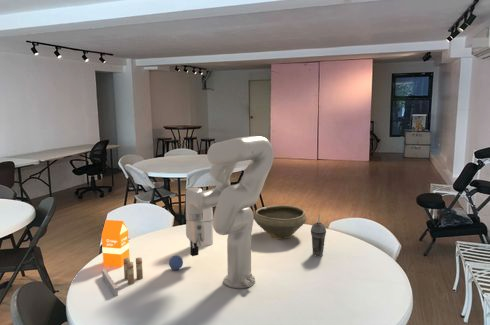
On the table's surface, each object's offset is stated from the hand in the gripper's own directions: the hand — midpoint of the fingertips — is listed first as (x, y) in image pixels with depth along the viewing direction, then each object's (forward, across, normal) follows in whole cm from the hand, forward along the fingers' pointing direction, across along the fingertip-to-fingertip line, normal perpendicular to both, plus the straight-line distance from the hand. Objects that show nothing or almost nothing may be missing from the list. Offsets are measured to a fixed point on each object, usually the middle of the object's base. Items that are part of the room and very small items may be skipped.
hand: (194, 255), depth 174 cm
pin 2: (+4, -4, +30) cm, 30 cm away
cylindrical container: (+5, +20, -16) cm, 26 cm away
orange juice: (+5, +20, +29) cm, 36 cm away
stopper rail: (+4, -1, +37) cm, 37 cm away
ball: (+1, -1, +9) cm, 9 cm away
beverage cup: (+3, -22, -54) cm, 58 cm away
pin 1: (+4, +2, +30) cm, 30 cm away
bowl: (+4, +9, -55) cm, 56 cm away
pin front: (+4, -1, +25) cm, 26 cm away
